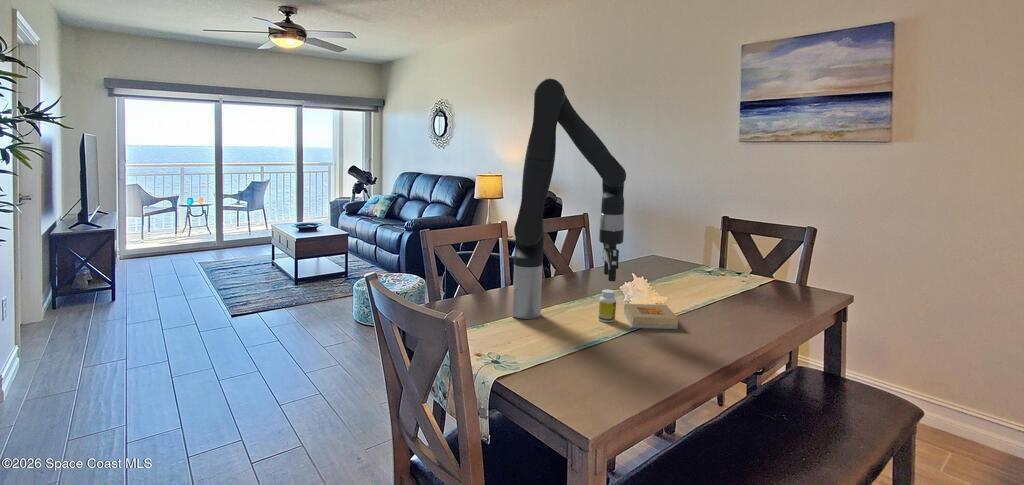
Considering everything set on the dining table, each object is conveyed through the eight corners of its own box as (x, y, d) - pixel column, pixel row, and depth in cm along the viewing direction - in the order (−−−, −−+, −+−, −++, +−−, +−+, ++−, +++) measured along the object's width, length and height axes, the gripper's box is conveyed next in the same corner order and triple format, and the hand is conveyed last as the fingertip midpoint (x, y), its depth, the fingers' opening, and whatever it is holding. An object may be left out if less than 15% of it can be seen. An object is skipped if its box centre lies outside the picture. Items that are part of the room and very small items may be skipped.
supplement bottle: (614, 323, 174) (616, 293, 172) (597, 322, 175) (599, 292, 173) (615, 318, 179) (616, 289, 178) (598, 316, 181) (600, 288, 179)
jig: (632, 327, 171) (633, 317, 170) (623, 313, 184) (624, 303, 184) (677, 328, 171) (678, 318, 170) (665, 314, 184) (665, 304, 184)
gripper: (596, 224, 179) (594, 272, 182) (603, 231, 165) (601, 283, 168) (619, 224, 179) (617, 272, 182) (628, 231, 165) (625, 283, 168)
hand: (609, 277), depth 175 cm, fingers open, 8 cm apart
